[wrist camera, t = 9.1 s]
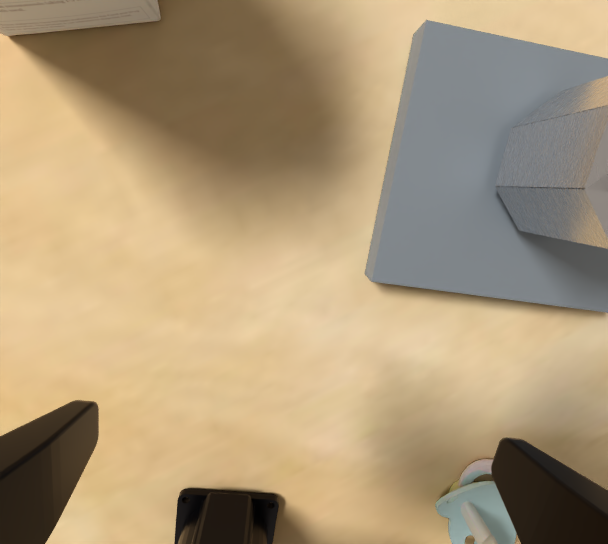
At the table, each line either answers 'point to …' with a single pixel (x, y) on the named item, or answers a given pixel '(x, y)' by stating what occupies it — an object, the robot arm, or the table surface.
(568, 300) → the block
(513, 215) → the hub
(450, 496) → the pacifier
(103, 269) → the table surface
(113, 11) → the supplement box
